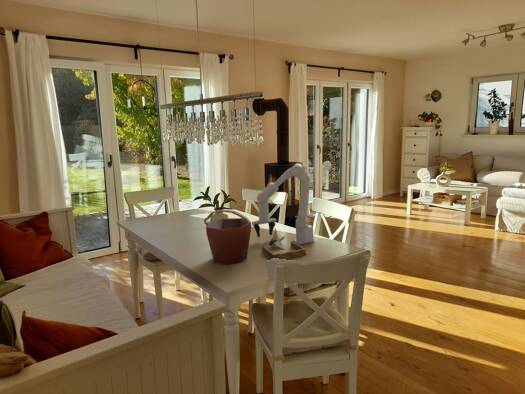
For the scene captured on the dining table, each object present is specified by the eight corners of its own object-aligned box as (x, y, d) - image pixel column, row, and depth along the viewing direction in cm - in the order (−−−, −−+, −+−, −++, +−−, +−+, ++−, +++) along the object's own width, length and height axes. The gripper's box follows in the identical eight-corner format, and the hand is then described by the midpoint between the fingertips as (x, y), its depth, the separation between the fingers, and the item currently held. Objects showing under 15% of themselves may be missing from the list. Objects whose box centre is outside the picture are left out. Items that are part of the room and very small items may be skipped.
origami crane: (262, 235, 207) (271, 226, 201) (278, 240, 212) (287, 230, 205) (264, 252, 200) (273, 242, 194) (280, 256, 205) (290, 247, 198)
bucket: (197, 261, 188) (193, 213, 183) (225, 248, 206) (222, 204, 201) (236, 270, 174) (233, 218, 169) (262, 255, 192) (260, 208, 187)
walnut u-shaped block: (292, 246, 204) (292, 241, 204) (305, 254, 191) (305, 249, 190) (262, 251, 198) (261, 246, 197) (273, 260, 184) (273, 255, 183)
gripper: (272, 210, 220) (273, 232, 223) (249, 213, 215) (250, 235, 217) (277, 212, 214) (278, 235, 216) (253, 215, 208) (254, 239, 211)
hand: (264, 235), depth 216 cm, fingers open, 7 cm apart
